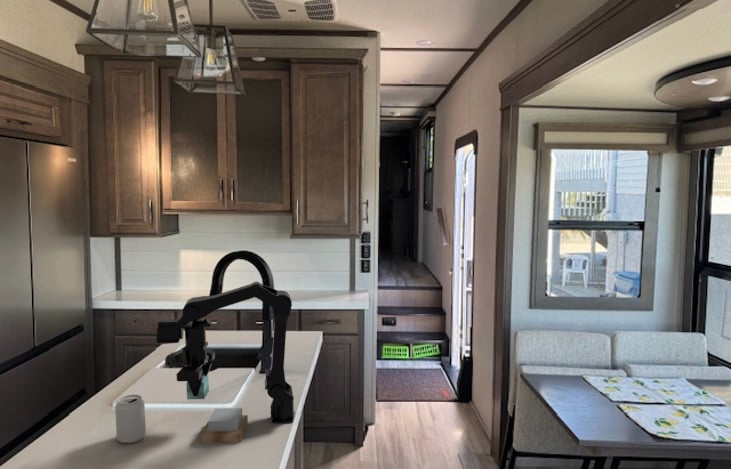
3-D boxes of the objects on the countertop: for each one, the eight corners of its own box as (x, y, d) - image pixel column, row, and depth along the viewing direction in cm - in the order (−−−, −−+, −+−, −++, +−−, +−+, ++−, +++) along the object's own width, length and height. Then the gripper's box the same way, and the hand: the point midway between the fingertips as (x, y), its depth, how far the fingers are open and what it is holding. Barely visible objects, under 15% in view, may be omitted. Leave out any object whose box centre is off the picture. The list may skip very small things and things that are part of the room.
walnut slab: (247, 424, 152) (247, 415, 151) (241, 443, 141) (240, 433, 140) (211, 425, 151) (210, 415, 151) (201, 444, 140) (201, 434, 140)
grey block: (242, 417, 150) (242, 408, 149) (236, 430, 142) (236, 420, 141) (215, 418, 149) (215, 408, 149) (208, 431, 141) (208, 421, 141)
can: (134, 446, 138) (132, 405, 137) (110, 443, 139) (108, 402, 138) (151, 433, 145) (149, 393, 144) (128, 430, 147) (126, 391, 145)
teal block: (209, 391, 151) (208, 375, 150) (204, 398, 146) (203, 382, 145) (192, 392, 151) (191, 376, 150) (187, 399, 146) (186, 383, 145)
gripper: (178, 332, 155) (180, 380, 157) (156, 353, 137) (159, 407, 138) (214, 331, 156) (216, 379, 157) (197, 352, 137) (199, 406, 139)
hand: (198, 392), depth 148 cm, fingers closed on teal block, 5 cm apart
